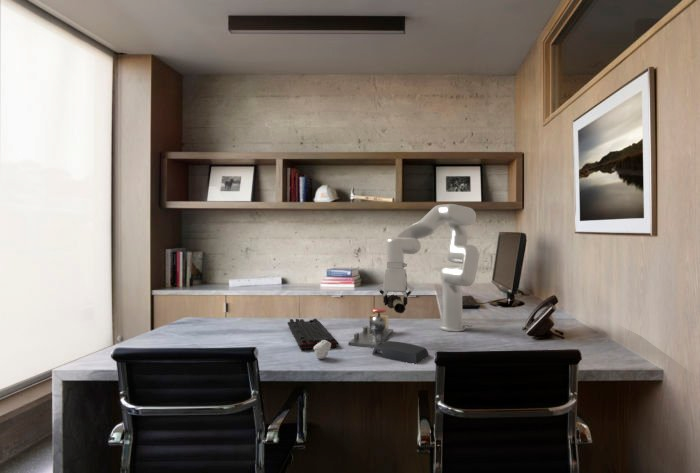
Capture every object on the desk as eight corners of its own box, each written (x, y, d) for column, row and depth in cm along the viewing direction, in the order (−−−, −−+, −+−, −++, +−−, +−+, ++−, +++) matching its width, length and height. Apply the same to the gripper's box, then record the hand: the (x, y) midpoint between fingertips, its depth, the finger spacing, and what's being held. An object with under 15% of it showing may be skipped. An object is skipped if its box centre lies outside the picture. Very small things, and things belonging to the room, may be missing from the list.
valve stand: (393, 331, 193) (393, 308, 193) (377, 347, 166) (377, 321, 166) (368, 329, 198) (368, 307, 198) (348, 345, 171) (348, 319, 171)
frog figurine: (333, 359, 151) (333, 341, 151) (315, 362, 149) (315, 343, 149) (328, 355, 157) (328, 337, 157) (311, 357, 155) (311, 339, 155)
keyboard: (338, 349, 167) (338, 337, 167) (299, 352, 162) (299, 340, 162) (318, 326, 207) (318, 316, 207) (287, 328, 203) (287, 318, 203)
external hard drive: (387, 348, 167) (387, 338, 167) (430, 356, 156) (430, 346, 156) (370, 356, 157) (370, 346, 157) (415, 366, 145) (415, 355, 145)
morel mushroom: (405, 313, 165) (405, 300, 165) (389, 313, 165) (389, 300, 165) (401, 305, 183) (400, 293, 183) (386, 305, 183) (386, 293, 183)
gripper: (416, 265, 177) (416, 305, 177) (378, 264, 182) (378, 303, 182) (413, 267, 169) (413, 308, 170) (374, 266, 175) (374, 305, 175)
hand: (395, 305), depth 176 cm, fingers closed on morel mushroom, 7 cm apart
